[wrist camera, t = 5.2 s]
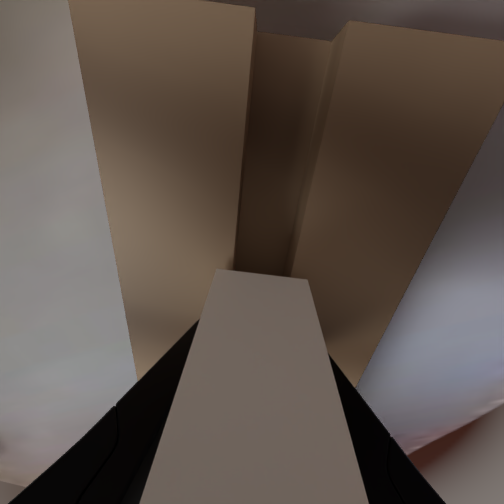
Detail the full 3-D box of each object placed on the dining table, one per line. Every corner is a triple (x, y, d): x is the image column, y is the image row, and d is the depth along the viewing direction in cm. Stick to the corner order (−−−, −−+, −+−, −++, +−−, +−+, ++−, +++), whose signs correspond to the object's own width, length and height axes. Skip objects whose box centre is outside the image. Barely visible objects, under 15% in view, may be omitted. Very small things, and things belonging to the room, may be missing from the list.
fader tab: (283, 331, 11) (310, 637, 5) (218, 324, 11) (150, 621, 4) (301, 257, 9) (395, 597, 3) (223, 247, 9) (117, 568, 3)
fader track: (303, 421, 18) (311, 477, 15) (168, 406, 18) (150, 459, 15) (442, 70, 8) (544, 41, 5) (133, 30, 8) (57, -24, 5)
